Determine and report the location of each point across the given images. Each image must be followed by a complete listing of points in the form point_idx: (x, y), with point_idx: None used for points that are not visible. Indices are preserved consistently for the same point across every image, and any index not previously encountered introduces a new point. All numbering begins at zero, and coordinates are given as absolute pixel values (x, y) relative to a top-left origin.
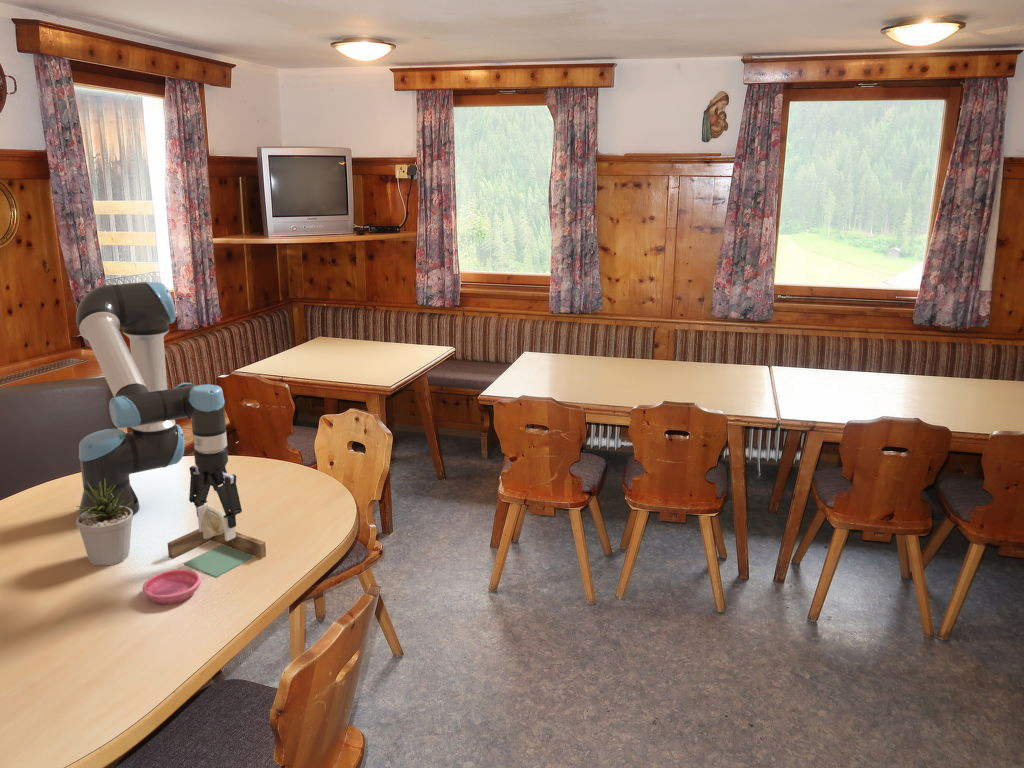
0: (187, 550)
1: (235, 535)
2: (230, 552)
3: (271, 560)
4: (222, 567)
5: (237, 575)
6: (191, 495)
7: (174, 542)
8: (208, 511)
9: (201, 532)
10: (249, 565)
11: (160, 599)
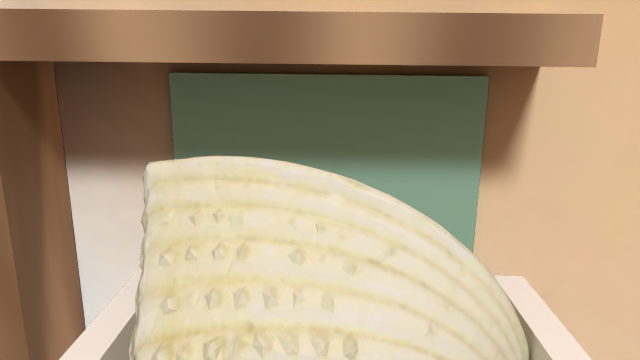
0: (71, 246)
1: (528, 286)
2: (310, 122)
3: (616, 44)
4: None
5: (548, 285)
6: None
7: None
8: None
9: (7, 150)
10: (530, 168)
11: None
